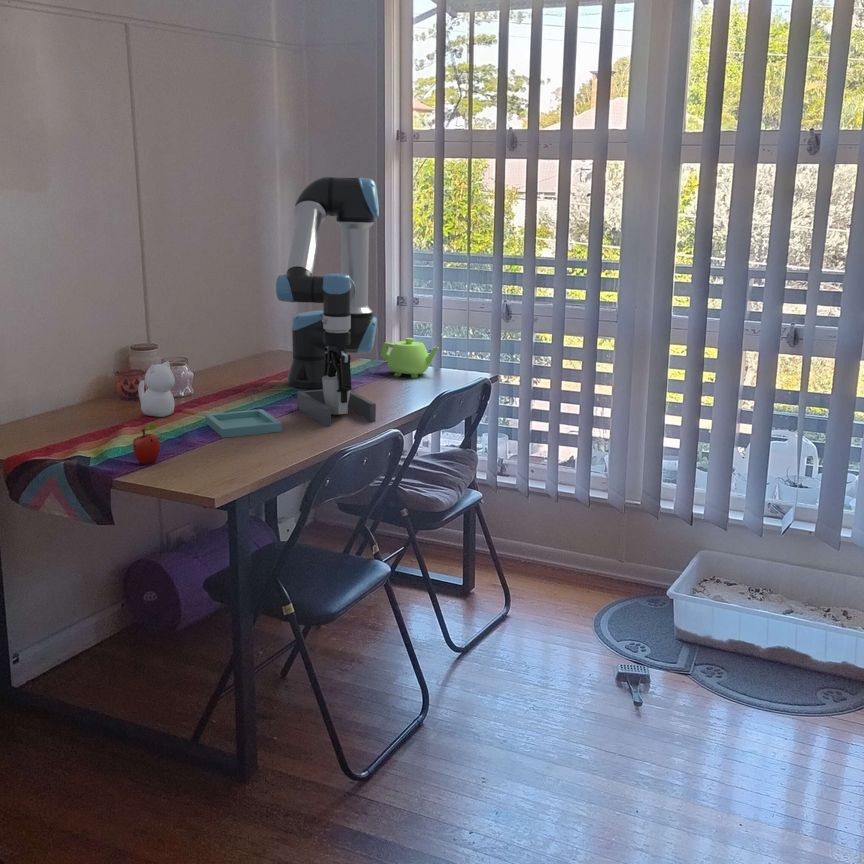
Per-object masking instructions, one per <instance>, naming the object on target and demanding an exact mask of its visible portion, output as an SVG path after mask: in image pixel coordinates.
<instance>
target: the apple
mask: <svg viewBox="0 0 864 864" xmlns="http://www.w3.org/2000/svg"><path fill="white" fill-rule="evenodd" d="M155 429H157V427H156V425H155V424H154V423H149V424H148V425H147V426H146V427H144V428H141V432H142V435H140V436H136V437H135V438H134V439H133V440H132V449H133V453H134V456H135V458H136V460H137V462H139V463H140V464H141V465H149V464H154V463H155V462H156V461H157V460H158V457H159V455H160V451H161V445H162V444H161V441H160V438H159V437H158V436H157V435H156V434H153V433H147V434H146V430H150V431H151V430H155Z"/></svg>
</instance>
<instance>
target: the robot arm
mask: <svg viewBox="0 0 864 864" xmlns="http://www.w3.org/2000/svg"><path fill="white" fill-rule="evenodd" d="M379 208H380V205H379V196H378V189H377V184H376V183H375V181H374V180H373V179H371V178H366V177H365V178H364V177H331V176H324V177H320V178H318V179H315V180H314V181H312V182H311V183H309V184H308V185H307V186H305V188H304V189H303V190H302V191H301V193H300V194H299V196H298V197H297V200H296V201H295V206H294V212H293V213H294V216H295V218H296V219H295V222H294V223H295V224H294V229H293V235H292V241H291V247H290V251H289V258H288V263H287V267H286V274H280V275H278V276H277V277H276V281H275V294H276V298H277V300H278V301H280V302H286V303H287V302H288V303H313V304H315V303H316V304H322V306H323V307H322V308H323V310H322V309H321V310H311V311H310V310H309V311H304V312H300V313H297V314H296V315H294V316H293V318H292V326H291V327H292V328H291V331H292V332H291V333H292V339H291V340H292V361H291V365H290V368H289V371H288V374H287V383H288V384H287V385H288V386H290V387H293V388H297V387H299V388H300V389H323V381H322V377H324V376H327V375H328V377H334V376H336V375H337V379H338V385H339V390H337V392H338V414H337V415H343V414H348V410H349V409H348V391H349V390H351V391H352V376H351V375H352V372H351V370H352V369H351V358H352V357H351V354H357V355H358V354H369V353H372V350H373V348H374V344H375V341H376V333H377V327H378V318H377V317H376V316H373V310H372V309H371V308H370V307H369V259H370V258H369V256H370V255H369V253H370V252H369V251H370V250H369V247H370V245H369V244H370V229H371V227H372V226H373V225H374V224H375V219H376V218H379V216H380V209H379ZM327 217H336V224H337V225H338V226H339V227H340V229H341V230H340V232H341V234H340V235H341V237H340V238H341V240H340V273H339V272H337V273H335V272H334V273H327V274H324V276H316V275H314V269H315V263H316V260H317V259H316V258H317V252H318V246H319V241H320V233H321V226H322V223H323V222H324V221H325V220H326V218H327ZM299 388H298V389H299Z"/></svg>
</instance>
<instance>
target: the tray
mask: <svg viewBox="0 0 864 864" xmlns="http://www.w3.org/2000/svg"><path fill="white" fill-rule="evenodd" d="M204 415H205V416H204V419H205V424H206V425H208V427H210V428H211V429H212V430H213V431H214V432H216V433H217V434H218V435H219V436H220V437H221V438H222V439H223V438H233V437H242V436H243V437H244V436H251V435H259V434H269V433H270V434H271V433H280V432H282V431H283V427H282V425H283V423H282V422H281V421H279V420H278V419H277V418H275V417H274V416H272V415H271V414H270V413H268V412H267V411H266V410H264V409H262V408H261V409H260V408H259V409H251V410H250V409H249V410H238V411H229V412H219V413H207V414H204Z"/></svg>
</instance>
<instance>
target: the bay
mask: <svg viewBox="0 0 864 864" xmlns="http://www.w3.org/2000/svg"><path fill="white" fill-rule="evenodd" d="M296 404H297V405H296V406H297V407H296V409H297V410H299V411H301V412H302V413H304V414H305V415H307V416H308V417H310V418H311V419H313V420H315V421H316V422H318V423H319V424H321V425H322V426H323V427H331V425H332V423H331V422H332V421H331V420H332V418H331V415H332V414H331V408H329V407H328V406H326V404H325V399H324V393H323V388H321V389H313V390H311V389H310V390H302V391H297V392H296ZM376 406H377V404H376V403H375V402H373V401H371V400H370V399H367V398H366V397H363V396H362V395H360V394H359V393H356V392H354V391H352V390H351V391H350V398H349V404H348V410H349V411H351V412H352V413H354V414H356V415H358V416H360V417H362V419H365V420H367V421H368V422H371V423H373V422H376V421H377V418H376V415H377V413H376V412H377V411H376V410H377V409H376V408H377V407H376Z"/></svg>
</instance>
